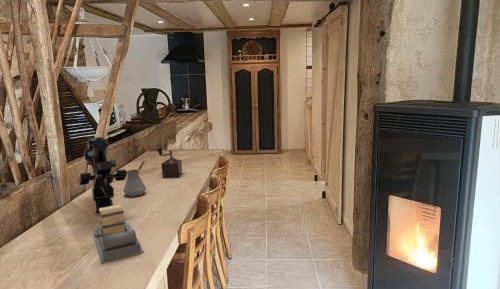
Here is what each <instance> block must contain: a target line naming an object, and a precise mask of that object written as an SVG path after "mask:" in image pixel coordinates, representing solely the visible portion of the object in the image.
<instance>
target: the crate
mask: <svg viewBox="0 0 500 289" xmlns="http://www.w3.org/2000/svg"><path fill="white" fill-rule="evenodd" d="M124 212H125V211H124V208H123V206H121V204H119V203H118V204H116V205H114V204H113V206H109V207H103V208H99V213H98V214H99V221H100V223H99V224H100V228H101V229H102V233H104V236H109V235H113V234H118V233H122V232H125V221H124V218H125V215H124Z"/></svg>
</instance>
